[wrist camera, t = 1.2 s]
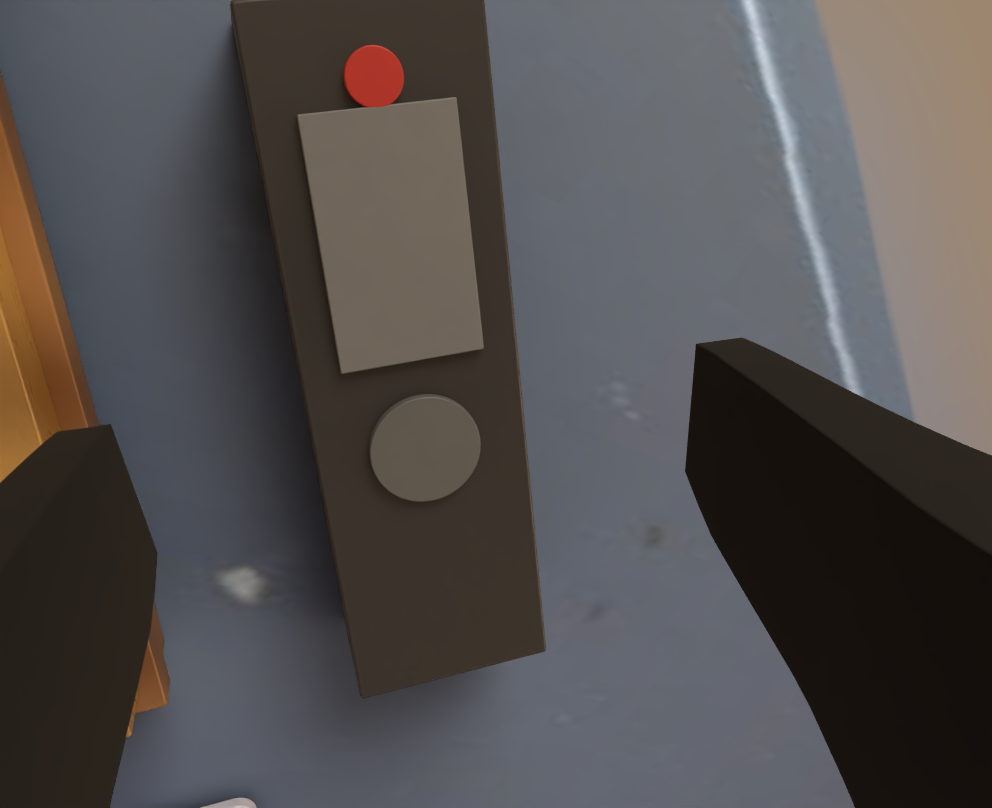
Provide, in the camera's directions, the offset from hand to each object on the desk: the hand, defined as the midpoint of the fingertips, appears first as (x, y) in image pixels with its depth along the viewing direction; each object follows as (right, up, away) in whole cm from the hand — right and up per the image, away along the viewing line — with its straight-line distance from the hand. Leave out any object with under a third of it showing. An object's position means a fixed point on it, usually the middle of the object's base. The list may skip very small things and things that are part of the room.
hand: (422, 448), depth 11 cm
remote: (-2, +2, +10) cm, 11 cm away
